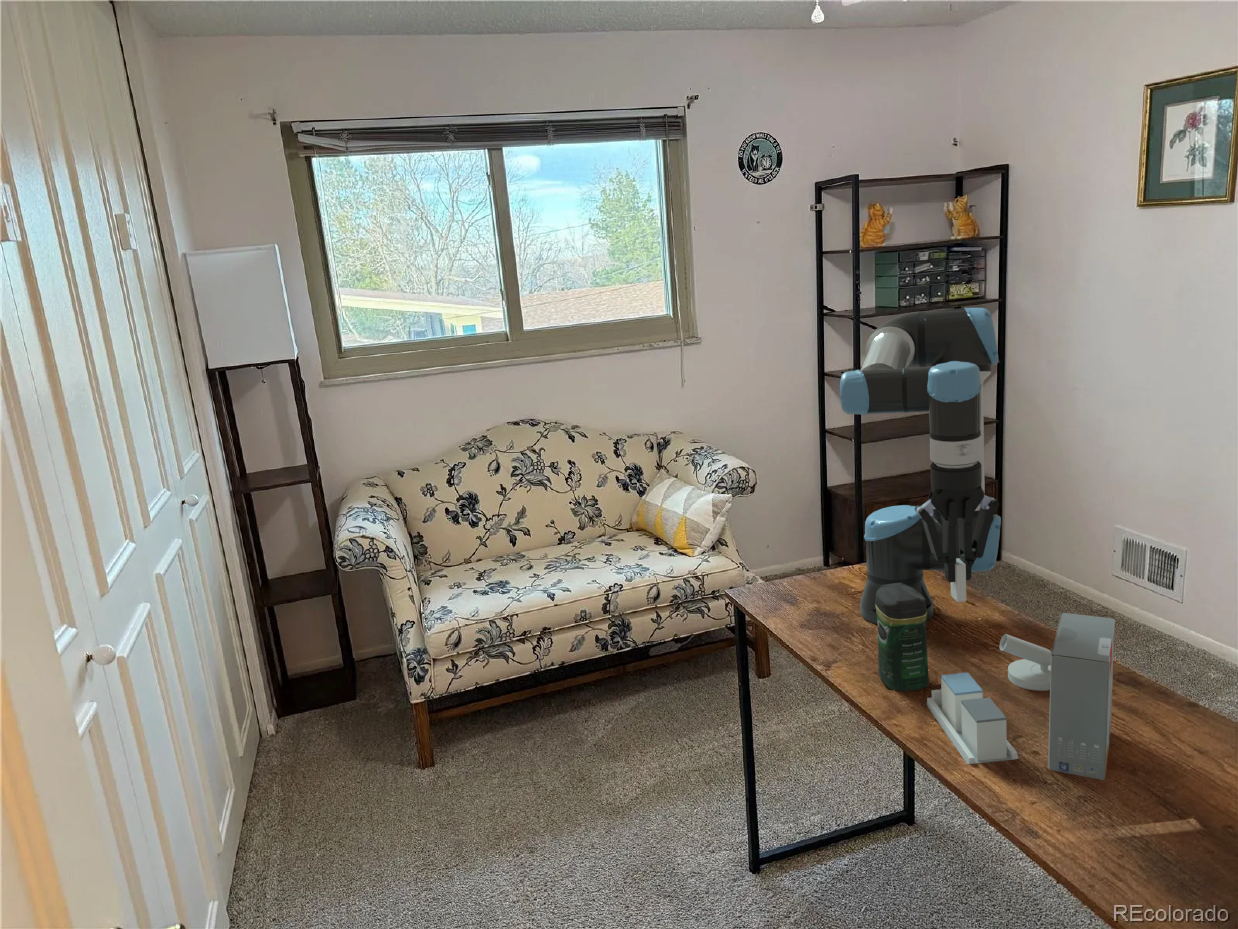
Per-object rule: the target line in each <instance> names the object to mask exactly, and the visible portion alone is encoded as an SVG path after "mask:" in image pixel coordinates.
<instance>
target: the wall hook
mask: <svg viewBox="0 0 1238 929" xmlns="http://www.w3.org/2000/svg"><path fill="white" fill-rule="evenodd" d="M999 650H1000V651H1002V652H1005V653H1007V654H1010V655H1013V656H1015V657H1018V658H1021V659H1018V660H1015V661H1013V662H1011V663H1010V664H1008V667H1007V678H1008V679H1009V681H1010V682H1011V683H1012V684H1014V685H1015V686H1016V687H1019V688H1022V689H1026V690H1029V691H1030V690H1031V691H1038V692H1040V691H1044V692H1045V691H1050V678H1051V652H1052V650H1050V649H1048V648H1046V647H1043V646H1040V645H1038V644H1035V643H1032V642H1029V641H1026V640H1023V639H1020V638H1018V637H1015V636H1012V635H1010V634H1008V633H1005V634H1004V635H1003V636H1002V637H1001V639H1000V642H999Z"/></svg>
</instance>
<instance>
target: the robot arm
mask: <svg viewBox="0 0 1238 929" xmlns="http://www.w3.org/2000/svg"><path fill="white" fill-rule="evenodd" d="M996 338H997V337H996V331H995V326H994V321H993V317H992V314H991V311H990V310H988V309H987V308H985V307H961V308H960V307H959V308H953V309H952V308H950V309H939V310H930V311H929V310H928V311H914V312H909V313H904V314H902V315H898V316H896V317H893V318H892V319H889V320H888V321H886V322H884V323H882V324H881V325H879V327H877V328H876V329H875V330H874V331H873V332H872V333H871V334H870V336H869V337H868V340H867V342H866V344H865V349H864V350H865V356H866V357H865V359H864V362H863V364H862V366H861V368H860V369H855V370H851V371H845V372H844V373H843V374H841V377H840V382H839V383H840V384H839V397H840V398H839V399H840V407H841V409H842V412H844V413H845V414H847V415H861V416H865V415H879V414H900V413H902V414H903V413H905V414H906V413H928V417H929V459H930V461H931V462H932V463H931V464H930V466H929V467H930V485H931V486H930V489H931V490H930V493H929V494H928V496H927V497H928V500H927V501H926V502H924V503H923V504H922V505H920V504H918V505H916V506H915V505H911V504H910V505H908V504H902V505H892V506H887V507H883V508H880V509H878V510H875V511H873V512H872V513H870V514H869V515H868V516H867V517H866V520H865V522H864V535H863V538H864V541H865V557H866V559H865V560H866V582H865V585H864V588H863V591H862V595H861V597H860V598H861V599H860V602H859V605H860V609H859V610H860V614H861V616H862V617H863V618H864V619H865V620H866V621H868V622H870V623H873V624H876V625H878V622H877V613H876V605H875V600H876V592H877V590H878V589H879V588H880V587H881V586H882V585H886V584H893V583H903V584H905V585H907V586H909V587H911V588H913V589H915V590H916V591H917V592H919V593H920V594H921V595H922V596H923V597H924V598H925V600H926V608H927V618H926V622H928V621H929V620H930V619H932V618H933V616H934V602H933V600H932V597H931V595H930V592H929V590H928V587H927V584H926V581H925V579H924V571H939V572H940V571H944V578H945V580H946V581H947V582H949V583H950V596H951V597H952V598H953V600H955V602H957V603H962V602H967V581H971V579H972V572H989V571H991V570H993V568H994V567H995V566H996V562H997V557H998V551H999V544H1000V543H999V541H1000V534H1001V524H1002V519H1001V518H1002V517H1001V516H1000V515H998V514H995V513H996V511H997V509H998V508H999V506H1000V502H999V501H998V500H997V499H996V498H994V497H992V496H988V495H985V494H986V492H985V490H986V488H985V487H986V486H985V484H986V483H985V429H984V428H985V426H984V423H985V422H984V414H985V413H984V381H985V380H986V379H987V378H988V377H989V376H990V375H991V374H992V365H993V366H994V365H997V364H998V363H999V354H998V345H997V339H996Z"/></svg>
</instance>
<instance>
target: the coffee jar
mask: <svg viewBox="0 0 1238 929" xmlns="http://www.w3.org/2000/svg"><path fill="white" fill-rule="evenodd" d="M875 605H876V613H877V622H878V624H877V649H878V650H877V652H878V653H877V656H878V657H877V662H878V663H877V664H878V665H877V666H878V675H879V678H880V679H881V681H882V682H883V683H884V685H885V686H886V687H887V688H888V689H889V690H891V691H896V692H897V691H898V692H911V691H917V690H918V691H919V690H922V689H926V688H927V687H929V684H930V679H929V678H930V675H929V661H928V642H927V641H928V638H927V621H926V618H927V608H926V600H925V598H924V597H923V596H922V595H921V594H920V593H919V592H917V591H916V590H915V589H913V588H911V587H909V586H907V585H905V584H903V583H893V584H886V585H882V586H881V587H880V588H879V589H878V590H877V592H876V600H875Z"/></svg>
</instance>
